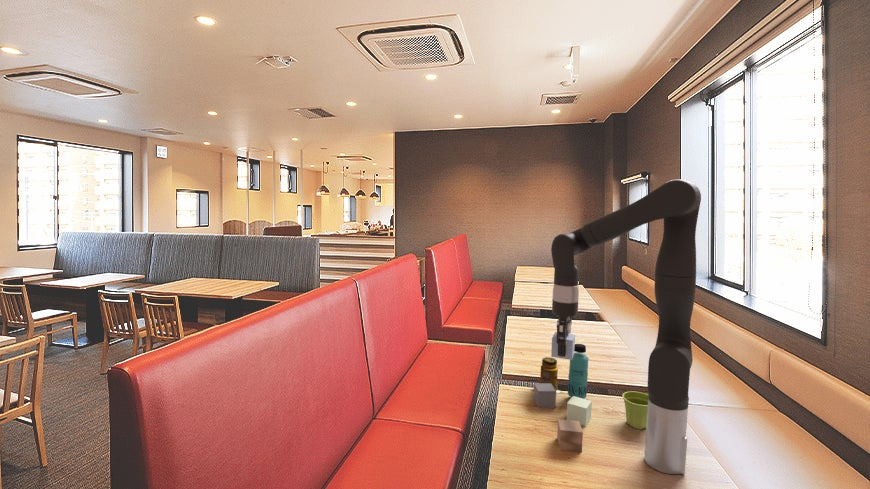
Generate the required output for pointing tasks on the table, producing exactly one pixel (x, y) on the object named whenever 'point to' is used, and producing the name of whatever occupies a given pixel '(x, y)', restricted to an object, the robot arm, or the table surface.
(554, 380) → the condiment
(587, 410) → the sage block
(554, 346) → the slate blue block
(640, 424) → the plant pot
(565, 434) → the walnut block
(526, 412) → the table surface
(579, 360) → the beverage bottle
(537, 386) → the charcoal block
